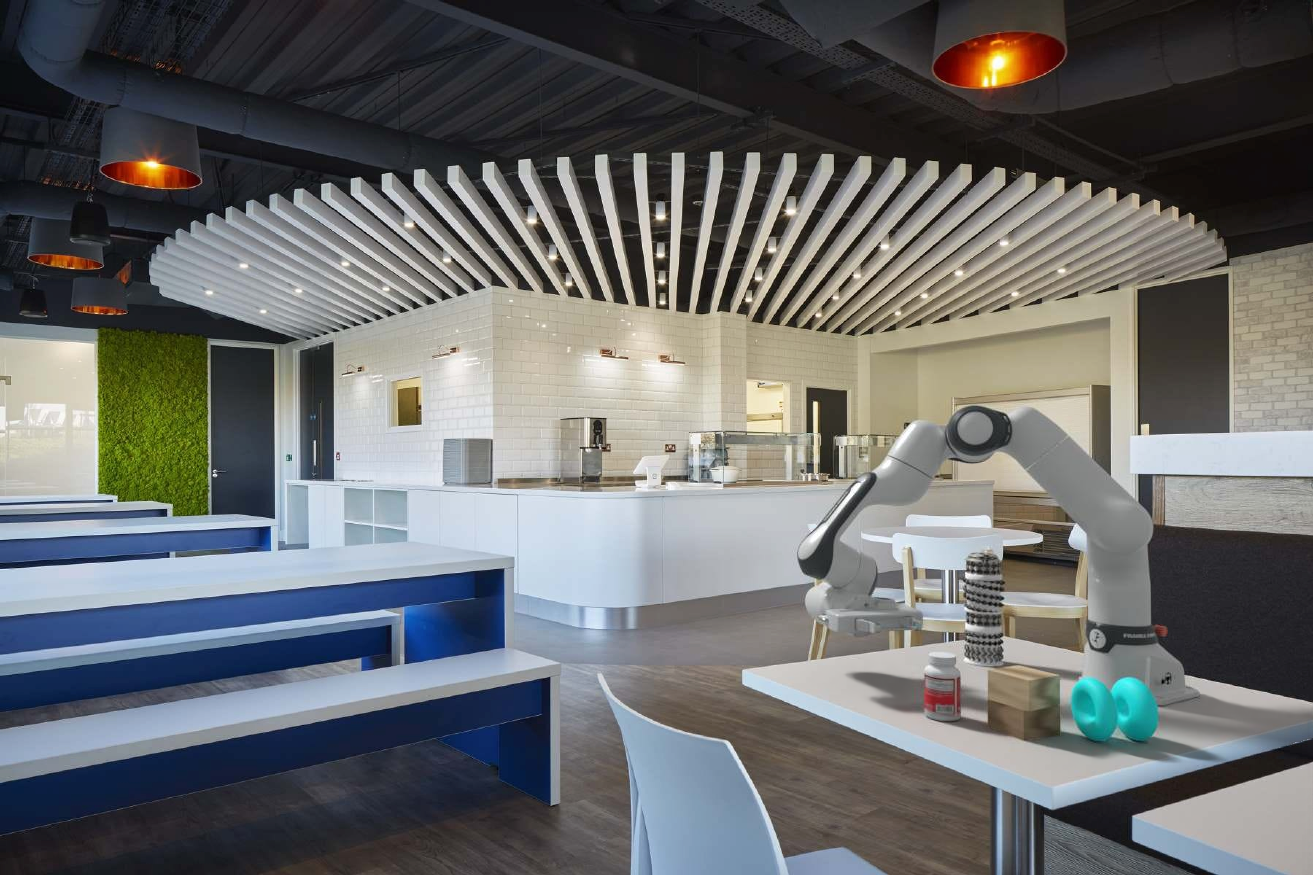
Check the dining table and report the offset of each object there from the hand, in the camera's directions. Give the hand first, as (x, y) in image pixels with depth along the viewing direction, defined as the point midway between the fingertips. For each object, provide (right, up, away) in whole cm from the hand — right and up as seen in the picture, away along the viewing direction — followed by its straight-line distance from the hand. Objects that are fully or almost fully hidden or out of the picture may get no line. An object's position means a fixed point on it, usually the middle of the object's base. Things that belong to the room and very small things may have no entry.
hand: (898, 627), depth 160 cm
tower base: (+16, -13, -19) cm, 28 cm away
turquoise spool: (+29, -13, -23) cm, 39 cm away
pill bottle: (+4, -13, -12) cm, 19 cm away
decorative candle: (+29, -15, +31) cm, 45 cm away
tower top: (+16, -8, -19) cm, 26 cm away
